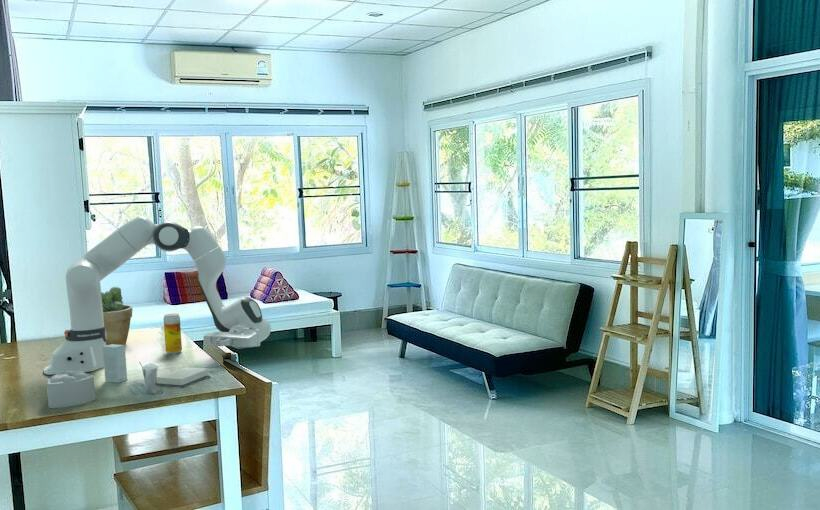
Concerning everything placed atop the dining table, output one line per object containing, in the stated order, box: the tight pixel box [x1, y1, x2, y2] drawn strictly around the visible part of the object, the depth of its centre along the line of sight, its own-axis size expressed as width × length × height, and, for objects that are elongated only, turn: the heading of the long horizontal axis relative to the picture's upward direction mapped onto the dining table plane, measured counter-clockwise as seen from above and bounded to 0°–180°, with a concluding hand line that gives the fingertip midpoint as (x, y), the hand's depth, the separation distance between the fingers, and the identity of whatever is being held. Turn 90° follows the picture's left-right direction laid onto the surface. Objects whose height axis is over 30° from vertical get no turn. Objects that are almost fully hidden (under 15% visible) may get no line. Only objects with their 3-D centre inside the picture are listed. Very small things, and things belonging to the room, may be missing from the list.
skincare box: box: [103, 344, 128, 384], centre depth 249 cm, size 6×4×12 cm
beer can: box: [163, 313, 183, 355], centre depth 290 cm, size 6×6×15 cm
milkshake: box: [139, 361, 158, 395], centre depth 232 cm, size 5×5×10 cm
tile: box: [157, 366, 210, 385], centre depth 247 cm, size 2×10×14 cm
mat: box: [157, 375, 211, 388], centre depth 246 cm, size 14×12×1 cm
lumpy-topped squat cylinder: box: [46, 371, 96, 409], centre depth 226 cm, size 10×13×9 cm
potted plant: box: [101, 286, 133, 346], centre depth 308 cm, size 18×19×25 cm
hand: (217, 343), depth 264 cm, fingers closed
